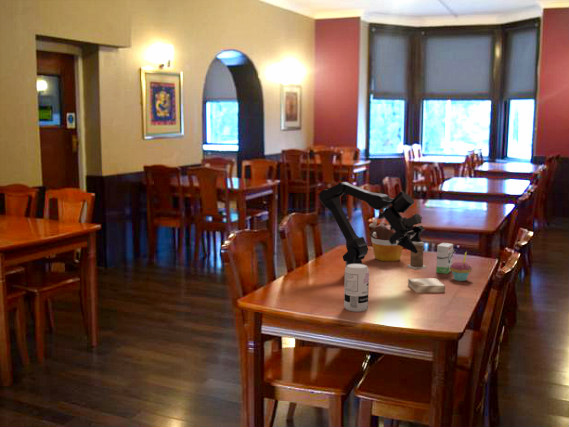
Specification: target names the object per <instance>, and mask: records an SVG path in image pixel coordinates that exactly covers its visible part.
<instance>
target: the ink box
mask: <svg viewBox="0 0 569 427" xmlns="http://www.w3.org/2000/svg"><path fill="white" fill-rule="evenodd" d="M436 249H437V250H436V252H437V253H436V269H435V273H436V274H437V273H438V274H446V275H448V274H449V273H451V272H452V271H451V270H450V266H451V265H452V264H453V261H454V260H453V259H454V256H453V255H454V244H453V243H449V242H441V243H439V244H437V246H436Z"/></svg>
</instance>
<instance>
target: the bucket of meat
mask: <svg viewBox="0 0 569 427" xmlns="http://www.w3.org/2000/svg"><path fill="white" fill-rule="evenodd" d="M406 218H407V219H408V218H409V217H406ZM368 224H369V223H368ZM368 227H369V228H372V229H371V230H370V231H369V234H370V240H371V245H372V251H373V255H374V256H373V257H374V258H375V259H376V260H378V261H380V262H386V263H387V262H391V263H392V262H393V263H394V262H398V261H400V259H401V257H402V252H403V248H404V247H402V246H400V245H397V243H399V241H398V240H397V241H396V244H393V245H391V243H390V242H389V237H390V236H391V235H392V234H393V233H394V232H395V231H394V229H392V230H391V229H390V227H391V226H390V224H389V223H388V222H383V221H381V222H379V224H378V221H377V220H374V221H373V222H372V223H370V224H369V225H368Z"/></svg>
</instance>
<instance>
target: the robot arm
mask: <svg viewBox="0 0 569 427" xmlns="http://www.w3.org/2000/svg"><path fill="white" fill-rule="evenodd" d="M344 194H347V195H349V196H351V197H353V198H356V199H358V200H361V201H363V202H365V203H366V204H367V205H368V206H369V207H371V208H372V209H374V210H377V211H379V213H378V220H381V219H385V221H386V223H387V224H390V226H391V227H390V229H391V230H392V229H394V231H395V232H394V233H393V234H392V235H391V236H390V237H389V242H390V243H391V245H393V244H396V241H397V240H398V241H399V243H397V245H400V246H402V247H403V248H405V249H406V250H408V251H410V252H411V251H412V252H414V253H417V252H418V251H417V249H416V247H415V246H414V244H413V243H412V242H414V241H419V242H422V240H421V234H422V233H423V232H424V231H425V230H426V228H424V226H423V225H420V224H422V220H423V216H421V214H419V213H415V214H412V216H410V217H406V216H405V217H403V216H402V215H401V213H402V214H404V213H406V212H407V211H408V209H410V208H411V206H413V205H414V203H415V201H414V199H413V197H412V196H410V195H409V194H407V193H406V192H405V191H401V190H400V191H399V193H398V194H396V196H395V197H394V198H392V197H390V196H389V195H388V194H385V193H378V192H371V191H369V190H366V189H363V188H362V187H359V186H357V185H353V184H351V183H349V182H348V181H342V182H339V183H337V184H336V185H333V186H332V187H330V188H327V189H326V188H325V189H322V190H321V191H319V195H318V199H319V201H320V202H321V204H322V205H323V206H324V207H325V208H326V209H327V210H329V212H330V213H331V215H332V217H333V220H335V223H336V224H337V226H338V228H339V230H340V232H341V234H342V235H343V236H342V237H344V239H345V246H346V248H345V249H346V250H347V251H346V252H345V253H344V254H343V255H342V259H343V262H345V267H346V266H347V265H348V264H363V260H364V259H365V257H366V256H367V255H368V251H369V247H368V246H369V244H368V243H367V242H366V239H365V237H364V236H358V235H357V233H356V232H355V230H354V228H353V226H352V224H351V223H350V220H349V219H348V217H347V215H346V213H345V211H344V210H343V207H342V205H341V196H343V195H344ZM380 210H383V211H380ZM407 218H408V219H407ZM418 224H419V225H418ZM424 251H425V248H423V252H424Z"/></svg>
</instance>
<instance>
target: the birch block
mask: <svg viewBox="0 0 569 427" xmlns="http://www.w3.org/2000/svg"><path fill="white" fill-rule="evenodd" d="M407 281H408V282H407V285H408V286H409V288H411V289H412V290H413V291H414V292H415V293H446V292H445V291H446V285H445V284H443V282H441V280H439V279H438V278H436V277H435V278H433V277H432V278H430V277H429V278H427V277H425V278H408V279H407Z"/></svg>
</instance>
